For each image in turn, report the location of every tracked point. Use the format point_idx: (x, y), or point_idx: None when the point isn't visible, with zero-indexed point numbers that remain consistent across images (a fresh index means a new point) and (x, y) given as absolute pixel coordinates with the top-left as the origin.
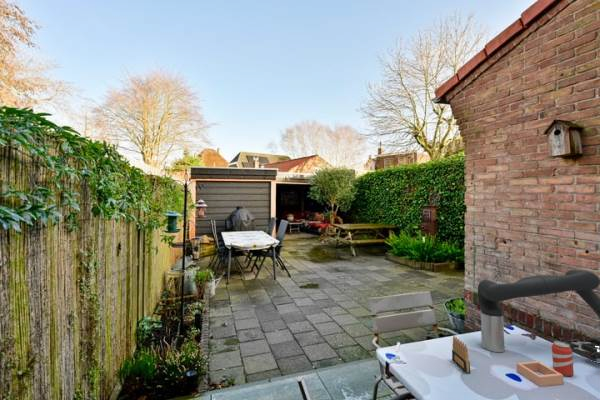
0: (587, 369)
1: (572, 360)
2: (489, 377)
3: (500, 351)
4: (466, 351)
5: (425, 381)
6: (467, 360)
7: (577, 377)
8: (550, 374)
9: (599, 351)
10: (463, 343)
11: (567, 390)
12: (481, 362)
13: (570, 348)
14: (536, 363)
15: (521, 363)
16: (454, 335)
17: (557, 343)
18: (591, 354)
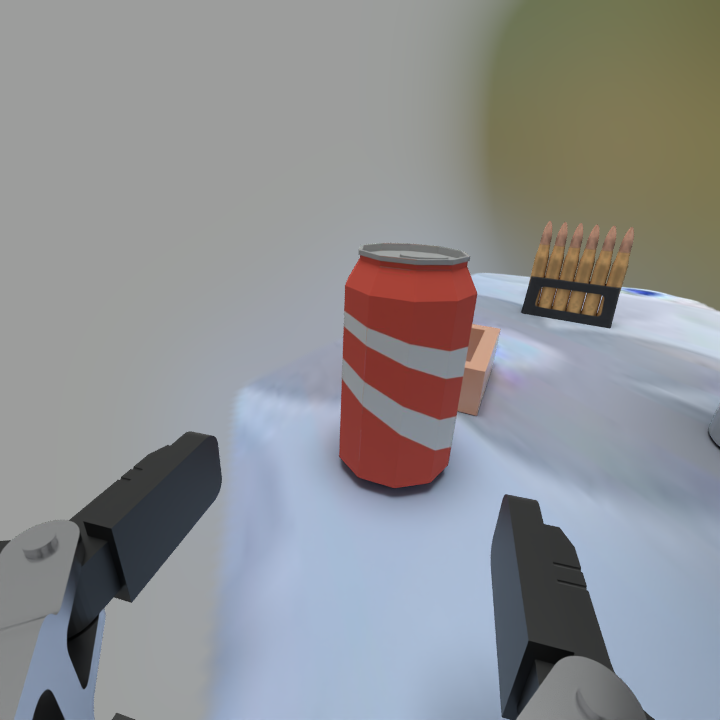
0: (279, 691)
1: (343, 362)
2: (488, 319)
3: (712, 431)
4: (540, 243)
5: (514, 282)
6: (532, 271)
7: (318, 464)
8: None
9: (22, 600)
10: (562, 225)
11: (322, 363)
12: (586, 349)
13: (354, 268)
14: (471, 360)
15: (490, 333)
16: (630, 228)
17: (440, 257)
18: (209, 438)
